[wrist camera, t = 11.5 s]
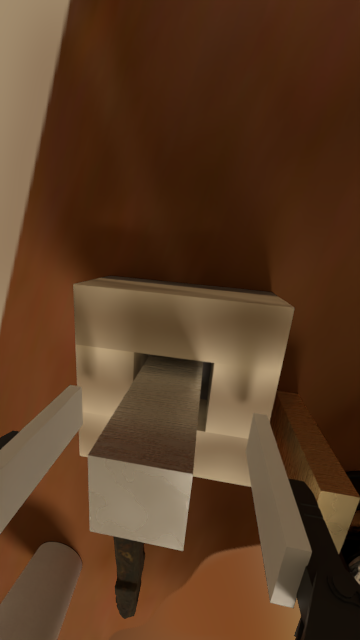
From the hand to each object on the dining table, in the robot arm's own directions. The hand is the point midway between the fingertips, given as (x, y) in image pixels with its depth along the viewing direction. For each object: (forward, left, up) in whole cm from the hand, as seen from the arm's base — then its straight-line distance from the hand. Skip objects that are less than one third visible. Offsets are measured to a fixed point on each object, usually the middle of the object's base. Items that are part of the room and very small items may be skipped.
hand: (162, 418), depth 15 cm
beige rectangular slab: (-6, -10, -9) cm, 15 cm away
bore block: (0, 0, -9) cm, 9 cm away
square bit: (0, 0, -7) cm, 7 cm away
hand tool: (-23, +3, -9) cm, 25 cm away
